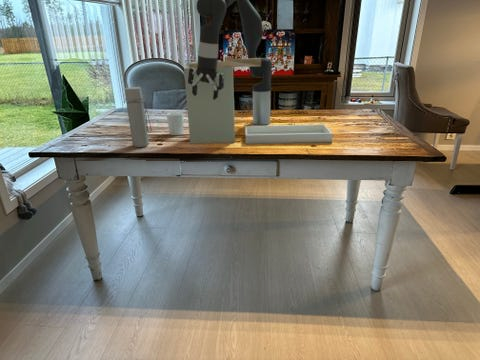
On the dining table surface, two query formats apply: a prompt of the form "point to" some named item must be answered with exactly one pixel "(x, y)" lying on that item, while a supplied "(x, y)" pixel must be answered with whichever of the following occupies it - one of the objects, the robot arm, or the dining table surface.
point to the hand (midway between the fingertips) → (204, 97)
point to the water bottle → (137, 116)
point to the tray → (288, 134)
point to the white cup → (175, 123)
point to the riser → (211, 110)
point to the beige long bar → (233, 63)
